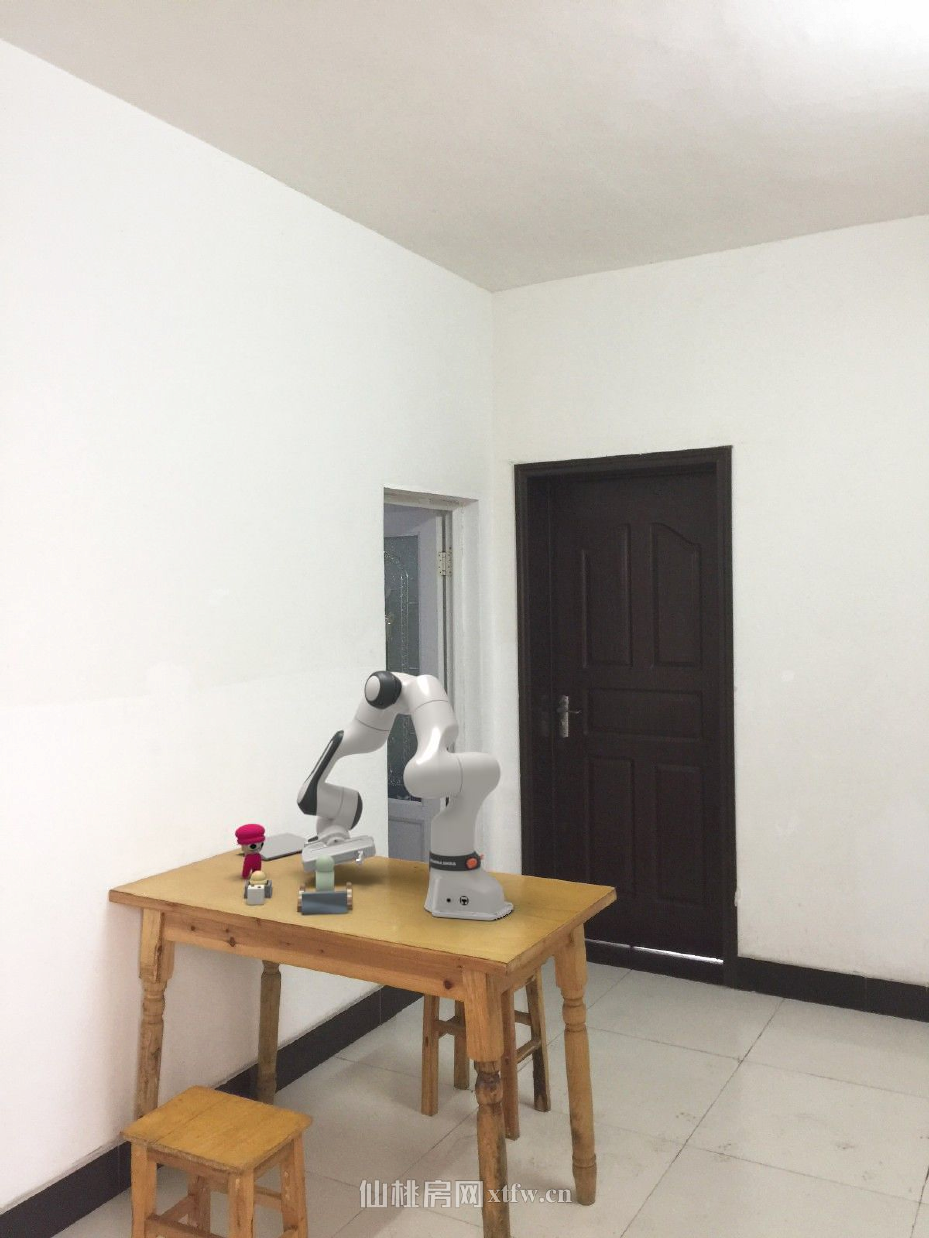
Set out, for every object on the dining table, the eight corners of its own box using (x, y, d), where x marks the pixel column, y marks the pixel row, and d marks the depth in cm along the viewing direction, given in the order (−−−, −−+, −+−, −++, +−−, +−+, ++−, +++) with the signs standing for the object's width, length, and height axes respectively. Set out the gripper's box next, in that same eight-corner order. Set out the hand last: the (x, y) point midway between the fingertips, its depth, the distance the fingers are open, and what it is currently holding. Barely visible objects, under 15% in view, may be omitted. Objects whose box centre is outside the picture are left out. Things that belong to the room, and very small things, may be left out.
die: (264, 899, 272) (264, 882, 272) (263, 904, 268) (263, 886, 268) (248, 900, 272) (248, 883, 272) (247, 904, 268) (247, 887, 268)
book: (229, 856, 322) (229, 843, 322) (286, 843, 340) (286, 831, 340) (263, 864, 312) (263, 851, 312) (319, 850, 330) (319, 837, 330)
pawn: (338, 904, 269) (338, 853, 268) (327, 909, 264) (327, 857, 264) (322, 902, 271) (322, 851, 270) (311, 906, 266) (311, 855, 266)
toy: (250, 882, 289) (250, 828, 289) (228, 878, 294) (228, 824, 294) (272, 876, 296) (272, 823, 296) (250, 871, 301) (250, 819, 301)
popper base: (272, 890, 282) (272, 879, 282) (270, 897, 275) (270, 886, 275) (246, 891, 281) (246, 880, 281) (243, 898, 274) (243, 886, 274)
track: (300, 889, 283) (300, 870, 283) (351, 887, 285) (351, 869, 284) (296, 914, 260) (296, 894, 260) (352, 912, 261) (352, 892, 261)
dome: (267, 884, 280) (267, 868, 280) (266, 888, 276) (266, 872, 276) (250, 884, 280) (250, 868, 280) (249, 889, 275) (249, 873, 275)
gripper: (373, 845, 298) (381, 868, 285) (302, 862, 294) (307, 886, 281) (370, 825, 296) (378, 847, 283) (298, 842, 292) (302, 865, 279)
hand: (342, 867), depth 282 cm, fingers open, 8 cm apart
